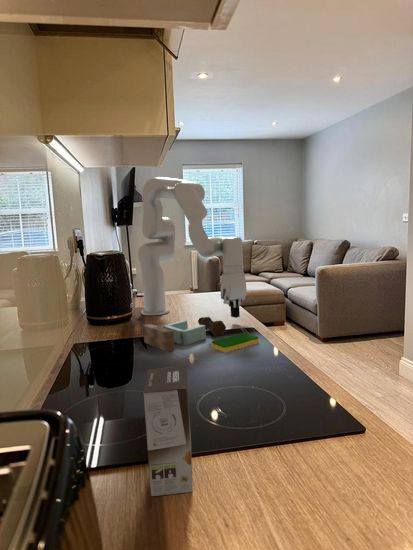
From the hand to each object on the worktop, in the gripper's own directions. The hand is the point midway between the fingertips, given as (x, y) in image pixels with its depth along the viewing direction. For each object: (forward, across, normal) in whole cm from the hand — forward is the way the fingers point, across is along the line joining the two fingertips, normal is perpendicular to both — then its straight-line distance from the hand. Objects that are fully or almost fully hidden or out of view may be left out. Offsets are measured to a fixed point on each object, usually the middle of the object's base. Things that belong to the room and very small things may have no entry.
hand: (235, 316), depth 145 cm
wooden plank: (+3, +35, 0) cm, 35 cm away
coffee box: (+3, +69, +55) cm, 88 cm away
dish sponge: (+3, +18, +18) cm, 26 cm away
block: (+3, +25, 0) cm, 25 cm away
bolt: (+3, +12, 0) cm, 13 cm away
